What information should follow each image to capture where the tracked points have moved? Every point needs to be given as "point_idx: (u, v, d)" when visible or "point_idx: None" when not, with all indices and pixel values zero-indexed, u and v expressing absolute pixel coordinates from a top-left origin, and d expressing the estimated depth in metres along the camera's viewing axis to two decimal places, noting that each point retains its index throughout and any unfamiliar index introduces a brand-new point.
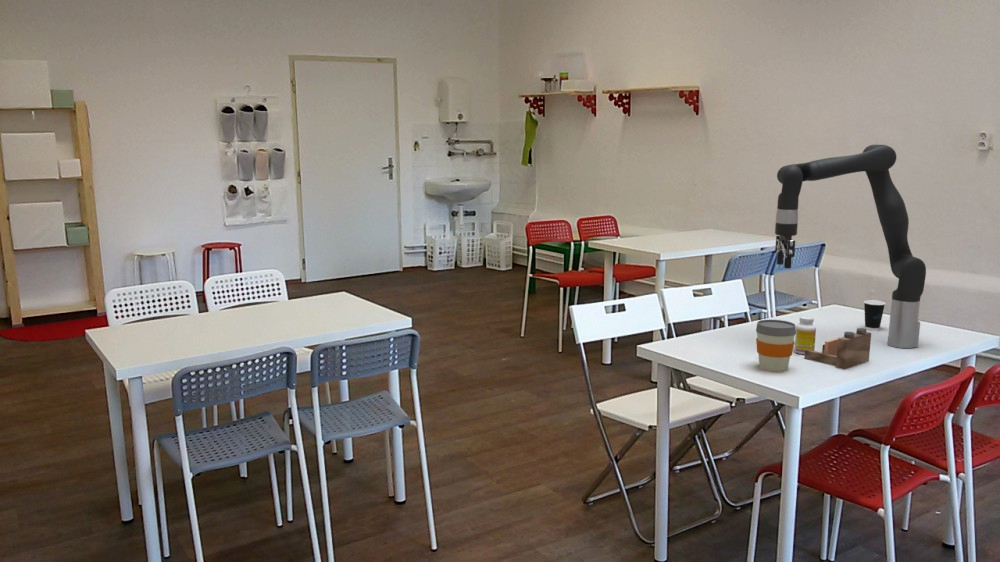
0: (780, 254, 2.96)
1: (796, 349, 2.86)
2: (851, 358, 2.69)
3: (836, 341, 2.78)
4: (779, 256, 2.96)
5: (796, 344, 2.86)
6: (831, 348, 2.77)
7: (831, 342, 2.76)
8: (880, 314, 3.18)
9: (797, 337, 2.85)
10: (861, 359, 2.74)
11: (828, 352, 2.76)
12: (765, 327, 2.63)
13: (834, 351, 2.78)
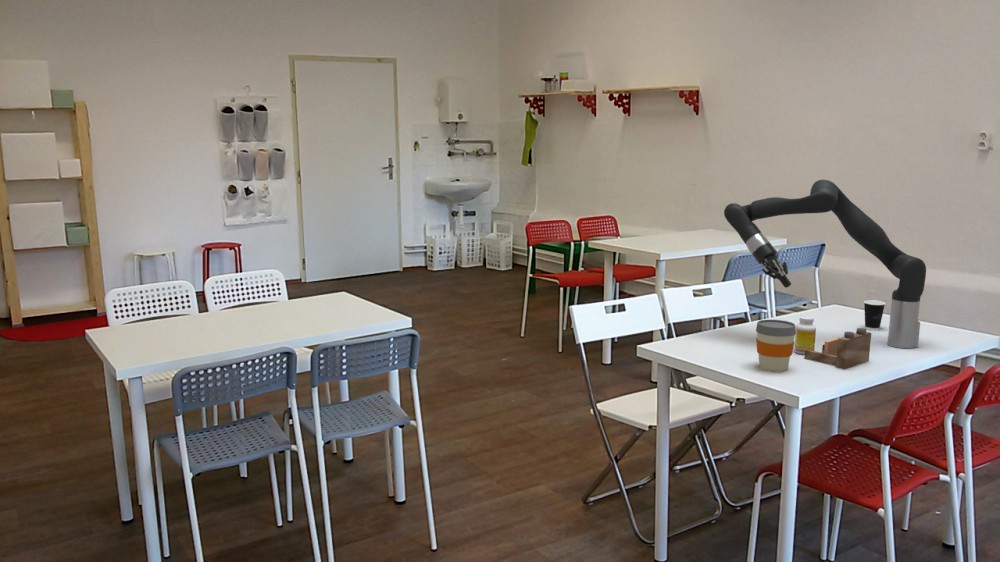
0: None
1: (796, 349, 2.86)
2: (851, 358, 2.69)
3: (836, 341, 2.78)
4: None
5: (796, 344, 2.86)
6: (831, 348, 2.77)
7: (831, 342, 2.76)
8: (880, 314, 3.18)
9: (797, 337, 2.85)
10: (861, 359, 2.74)
11: (828, 352, 2.76)
12: (765, 327, 2.63)
13: (834, 351, 2.78)
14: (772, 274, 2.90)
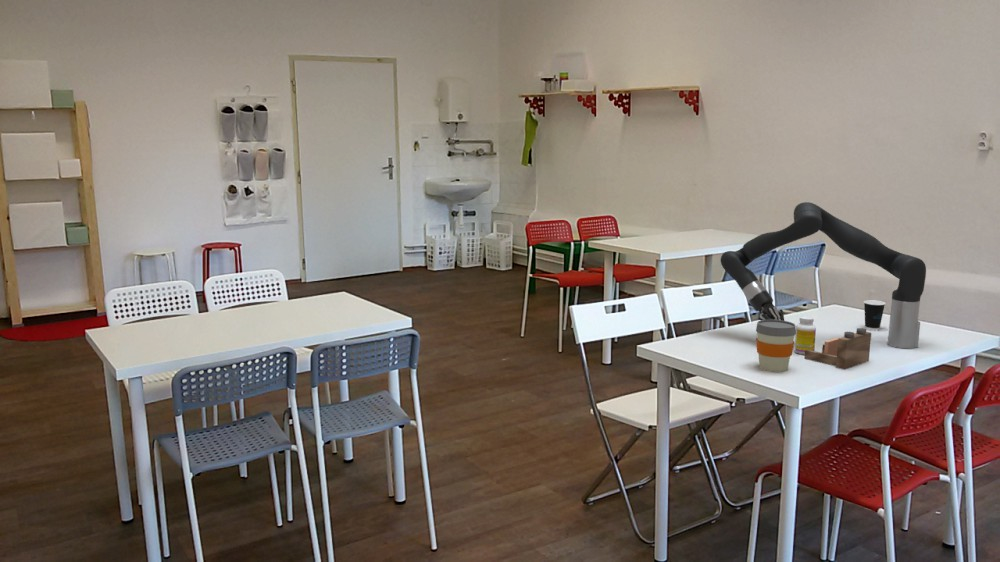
0: None
1: (796, 349, 2.86)
2: (851, 358, 2.69)
3: (836, 341, 2.78)
4: None
5: (796, 344, 2.86)
6: (831, 348, 2.77)
7: (831, 342, 2.76)
8: (880, 314, 3.18)
9: (797, 337, 2.85)
10: (861, 359, 2.74)
11: (828, 352, 2.76)
12: (765, 327, 2.63)
13: (834, 351, 2.78)
14: None
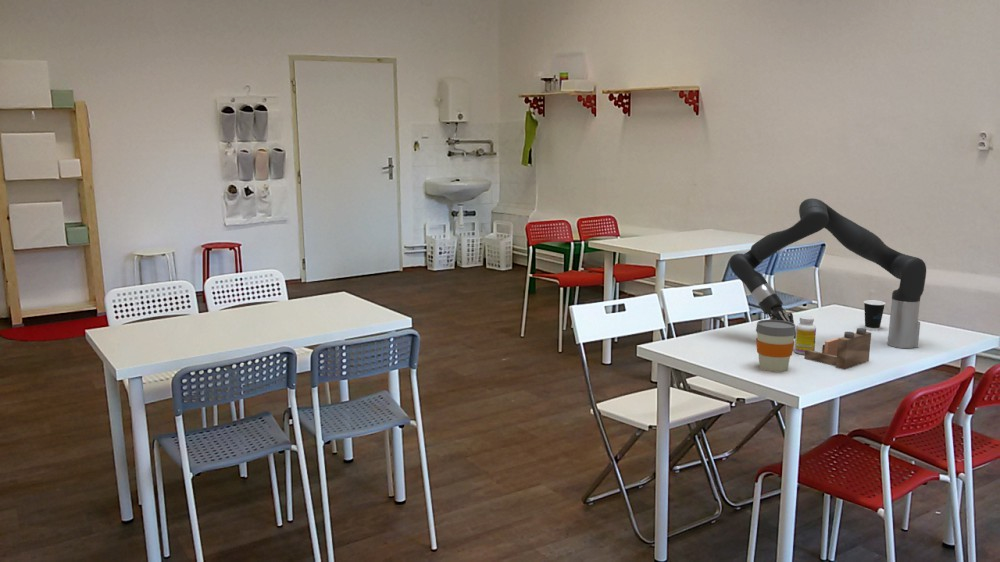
0: None
1: (796, 349, 2.86)
2: (851, 358, 2.69)
3: (836, 341, 2.78)
4: None
5: (796, 344, 2.86)
6: (831, 348, 2.77)
7: (831, 342, 2.76)
8: (880, 314, 3.18)
9: (797, 337, 2.85)
10: (861, 359, 2.74)
11: (828, 352, 2.76)
12: (765, 327, 2.63)
13: (834, 351, 2.78)
14: None
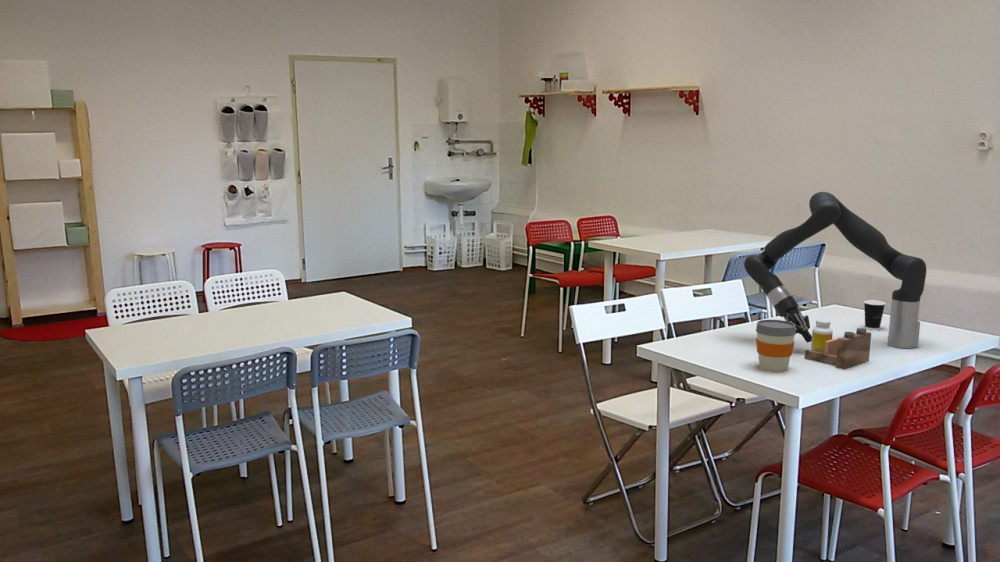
0: None
1: None
2: (851, 358, 2.69)
3: (836, 341, 2.78)
4: None
5: (812, 347, 2.81)
6: (831, 348, 2.77)
7: (831, 342, 2.76)
8: (880, 314, 3.18)
9: (813, 340, 2.80)
10: (861, 359, 2.74)
11: (828, 352, 2.76)
12: (765, 327, 2.63)
13: (834, 351, 2.78)
14: None
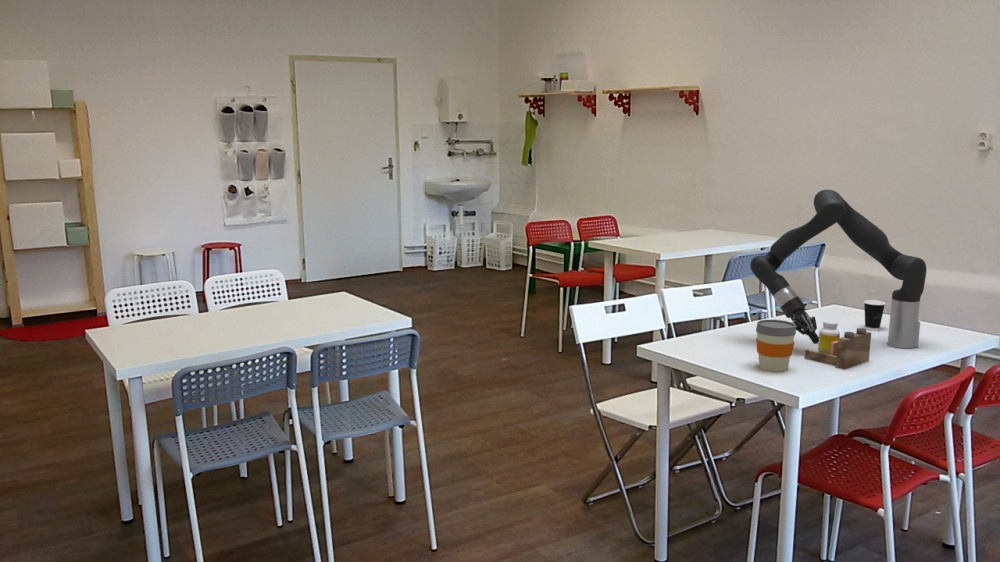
0: None
1: None
2: (851, 358, 2.69)
3: None
4: None
5: (819, 348, 2.80)
6: (837, 349, 2.75)
7: (837, 343, 2.74)
8: (880, 314, 3.18)
9: (820, 342, 2.79)
10: (861, 359, 2.74)
11: (834, 353, 2.74)
12: (765, 327, 2.63)
13: None
14: (801, 329, 2.84)
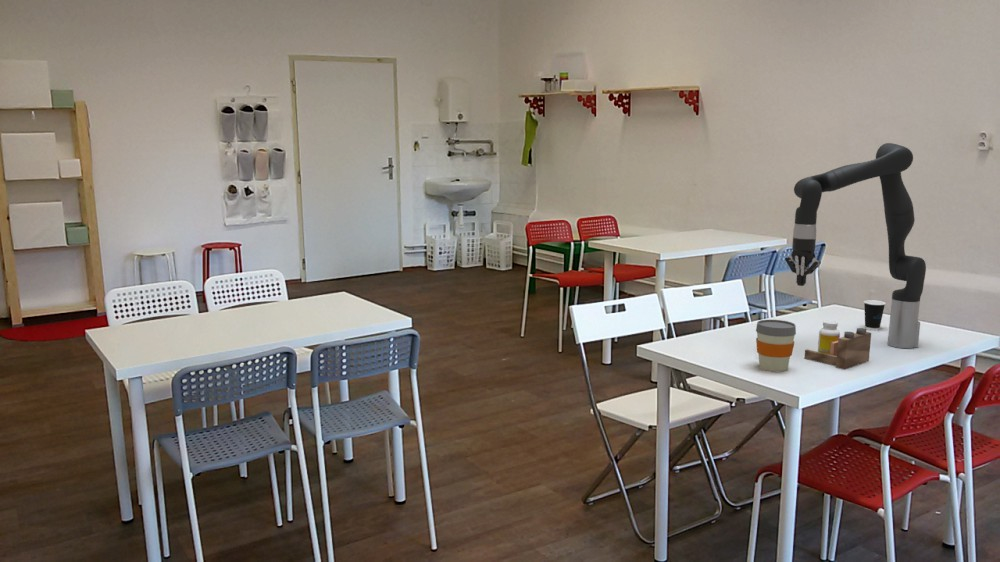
0: None
1: None
2: (851, 358, 2.69)
3: None
4: None
5: (819, 349, 2.80)
6: (837, 349, 2.75)
7: (837, 343, 2.74)
8: (880, 314, 3.18)
9: (820, 342, 2.79)
10: (861, 359, 2.74)
11: (834, 353, 2.74)
12: (765, 327, 2.63)
13: None
14: (808, 269, 2.81)
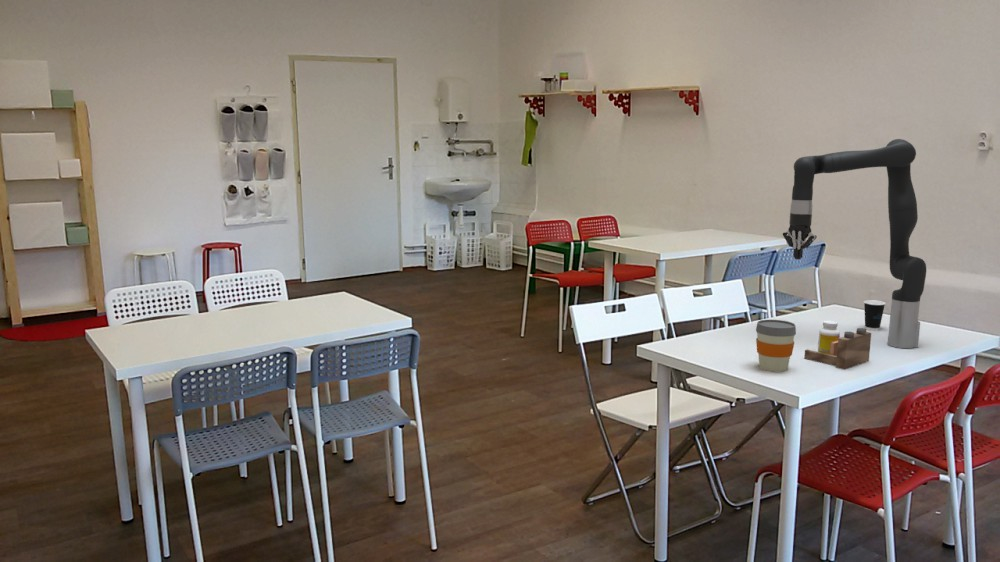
0: None
1: None
2: (851, 358, 2.69)
3: None
4: None
5: (819, 349, 2.80)
6: (837, 349, 2.75)
7: (837, 343, 2.74)
8: (880, 314, 3.18)
9: (820, 342, 2.79)
10: (861, 359, 2.74)
11: (834, 353, 2.74)
12: (765, 327, 2.63)
13: None
14: (804, 243, 2.95)
